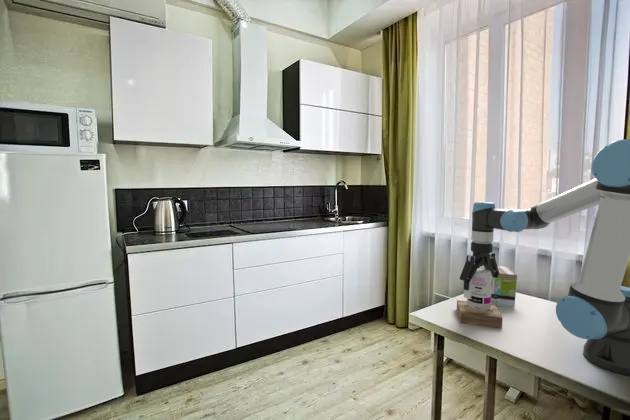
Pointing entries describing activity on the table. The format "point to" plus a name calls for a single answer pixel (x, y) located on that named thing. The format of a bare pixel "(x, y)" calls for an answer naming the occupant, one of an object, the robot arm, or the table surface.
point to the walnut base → (479, 315)
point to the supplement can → (481, 290)
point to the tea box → (504, 288)
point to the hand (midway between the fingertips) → (478, 295)
